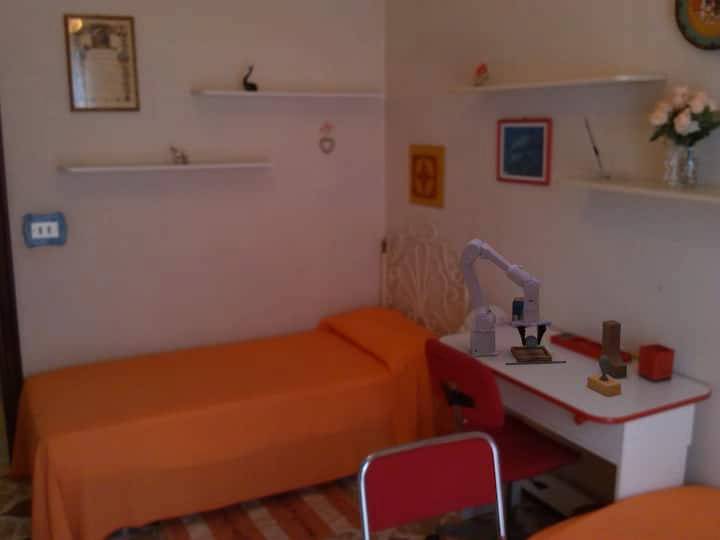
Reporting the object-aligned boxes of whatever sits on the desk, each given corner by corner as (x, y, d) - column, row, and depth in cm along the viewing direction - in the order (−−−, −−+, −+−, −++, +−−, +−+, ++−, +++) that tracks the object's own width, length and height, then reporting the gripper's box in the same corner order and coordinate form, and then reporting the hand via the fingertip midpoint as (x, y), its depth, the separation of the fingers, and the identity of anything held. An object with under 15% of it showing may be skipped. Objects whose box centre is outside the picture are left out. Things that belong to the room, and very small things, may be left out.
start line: (506, 365, 257) (506, 364, 257) (505, 363, 259) (505, 363, 258) (566, 362, 257) (566, 362, 257) (565, 361, 258) (565, 360, 258)
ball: (525, 350, 263) (525, 338, 261) (522, 346, 267) (523, 333, 266) (539, 350, 262) (539, 337, 261) (536, 346, 267) (536, 333, 266)
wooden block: (626, 377, 241) (629, 326, 237) (615, 378, 240) (617, 328, 236) (612, 368, 250) (613, 319, 246) (600, 369, 249) (602, 320, 245)
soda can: (518, 322, 307) (519, 296, 304) (532, 326, 302) (532, 298, 299) (508, 326, 303) (508, 299, 300) (521, 329, 297) (522, 302, 295)
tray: (517, 362, 260) (517, 357, 259) (510, 351, 272) (510, 346, 271) (551, 361, 259) (552, 356, 259) (543, 349, 272) (543, 345, 271)
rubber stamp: (586, 386, 235) (587, 352, 233) (600, 383, 237) (601, 349, 235) (607, 397, 226) (608, 361, 224) (621, 393, 228) (622, 358, 226)
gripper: (514, 313, 258) (513, 349, 261) (553, 312, 258) (553, 347, 261) (510, 308, 265) (510, 342, 268) (549, 307, 265) (548, 341, 267)
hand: (531, 344), depth 265 cm, fingers closed on ball, 5 cm apart
